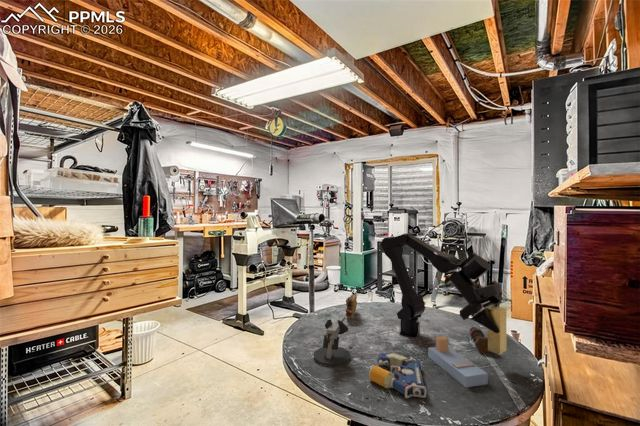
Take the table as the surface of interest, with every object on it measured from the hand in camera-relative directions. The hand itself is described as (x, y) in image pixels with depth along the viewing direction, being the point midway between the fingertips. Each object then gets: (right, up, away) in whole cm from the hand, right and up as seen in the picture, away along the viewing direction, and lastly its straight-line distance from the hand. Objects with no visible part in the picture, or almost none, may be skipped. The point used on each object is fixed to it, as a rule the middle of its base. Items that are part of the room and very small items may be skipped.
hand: (501, 330), depth 93 cm
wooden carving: (-41, -12, +46) cm, 63 cm away
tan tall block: (-1, -7, +1) cm, 7 cm away
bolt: (+2, -12, +18) cm, 22 cm away
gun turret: (-51, -12, +11) cm, 53 cm away
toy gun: (-34, -12, -4) cm, 36 cm away
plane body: (-14, -12, 0) cm, 18 cm away
